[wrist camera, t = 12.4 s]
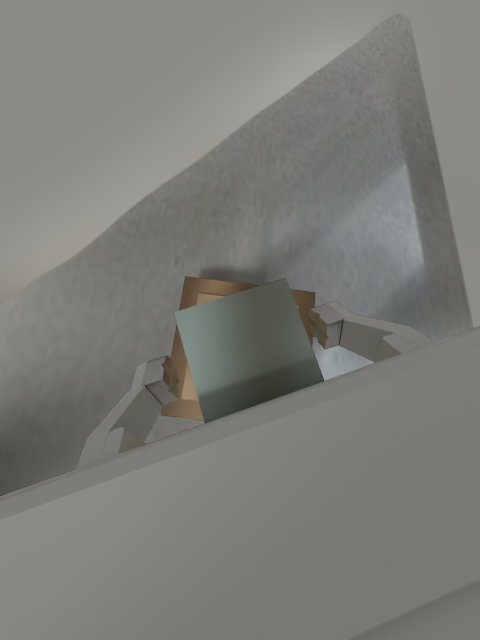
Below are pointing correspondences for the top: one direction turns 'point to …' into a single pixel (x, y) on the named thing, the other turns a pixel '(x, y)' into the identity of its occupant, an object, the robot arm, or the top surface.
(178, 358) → the base slab
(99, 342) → the top surface
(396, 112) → the top surface
